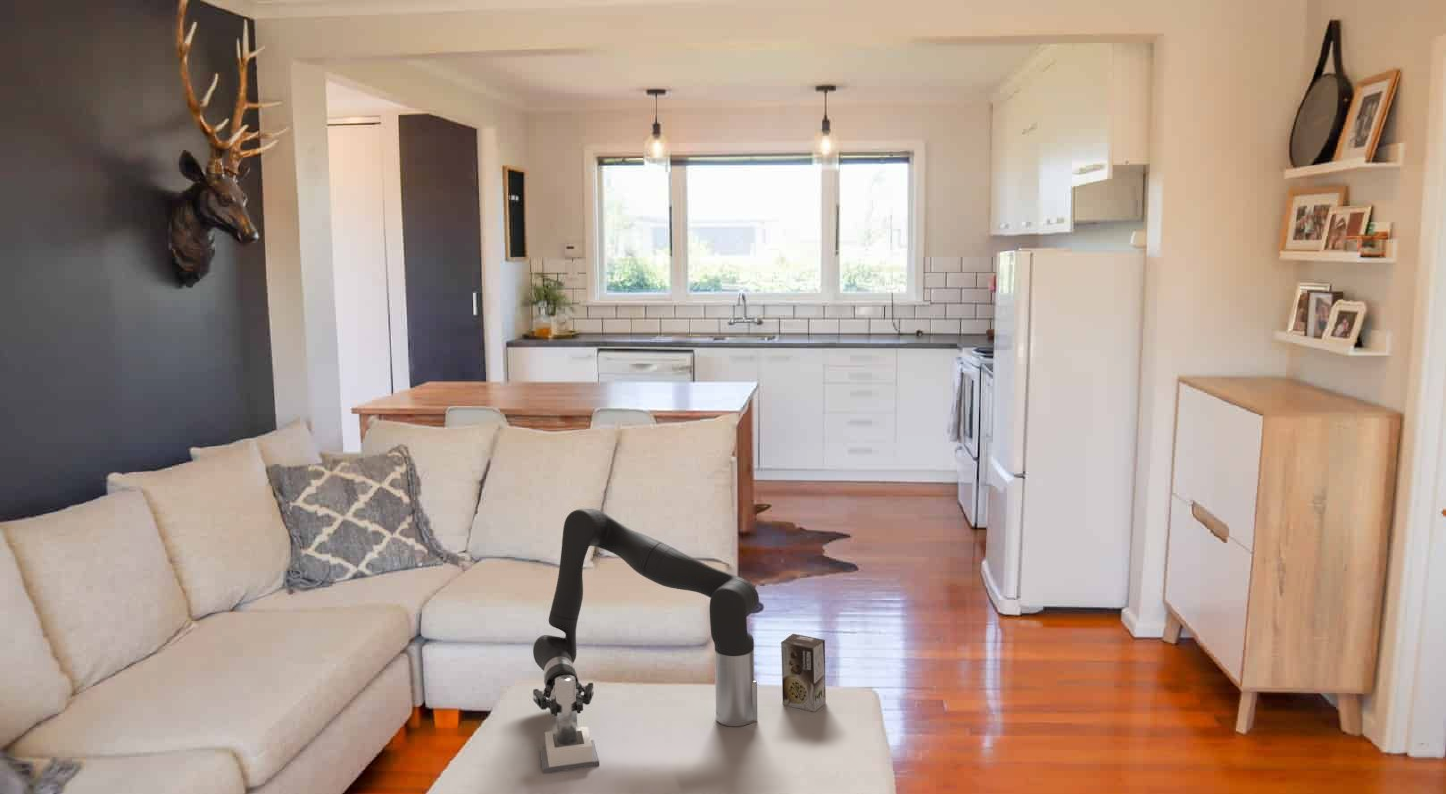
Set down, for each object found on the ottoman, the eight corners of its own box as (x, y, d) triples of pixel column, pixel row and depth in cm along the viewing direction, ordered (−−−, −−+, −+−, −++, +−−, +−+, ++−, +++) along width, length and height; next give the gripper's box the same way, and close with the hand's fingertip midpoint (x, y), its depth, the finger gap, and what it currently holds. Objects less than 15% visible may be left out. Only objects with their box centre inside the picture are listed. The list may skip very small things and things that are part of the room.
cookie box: (826, 702, 250) (826, 639, 248) (814, 712, 245) (814, 648, 242) (793, 694, 255) (793, 632, 253) (781, 704, 250) (780, 641, 247)
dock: (593, 743, 231) (593, 725, 231) (599, 765, 222) (598, 745, 221) (540, 750, 229) (539, 731, 228) (543, 772, 219) (542, 753, 218)
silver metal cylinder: (576, 733, 227) (574, 673, 225) (578, 742, 223) (576, 682, 221) (556, 736, 226) (554, 676, 224) (558, 745, 222) (555, 684, 220)
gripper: (528, 666, 235) (533, 698, 219) (591, 659, 238) (599, 690, 222) (530, 697, 236) (534, 731, 220) (592, 689, 239) (601, 722, 223)
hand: (567, 710), depth 221 cm, fingers closed on silver metal cylinder, 4 cm apart
